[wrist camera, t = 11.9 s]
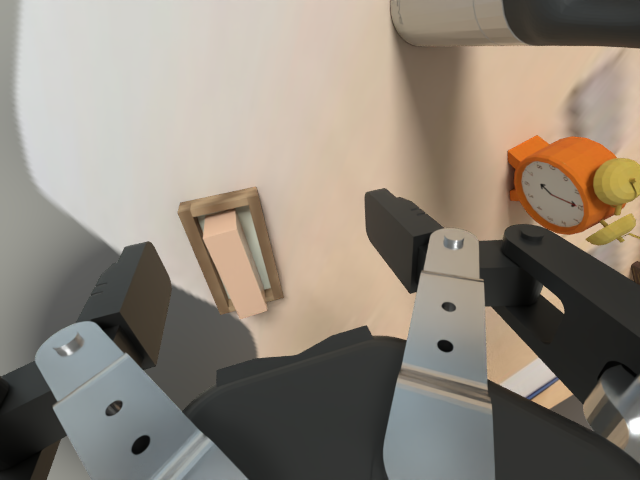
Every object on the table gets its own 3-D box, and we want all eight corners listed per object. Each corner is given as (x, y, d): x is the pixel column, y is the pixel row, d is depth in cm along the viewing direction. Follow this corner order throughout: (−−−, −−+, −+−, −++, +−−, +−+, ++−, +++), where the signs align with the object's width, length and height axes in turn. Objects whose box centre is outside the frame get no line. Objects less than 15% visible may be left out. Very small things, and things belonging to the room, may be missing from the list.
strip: (234, 207, 41) (236, 229, 37) (263, 284, 49) (267, 310, 44) (205, 215, 41) (202, 238, 36) (238, 291, 49) (240, 319, 44)
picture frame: (256, 186, 42) (258, 195, 40) (280, 285, 52) (283, 297, 49) (180, 202, 40) (177, 212, 38) (220, 301, 50) (220, 314, 48)
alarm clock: (503, 143, 49) (645, 192, 33) (538, 125, 49) (698, 164, 32) (507, 208, 57) (624, 274, 40) (537, 192, 56) (666, 252, 40)
